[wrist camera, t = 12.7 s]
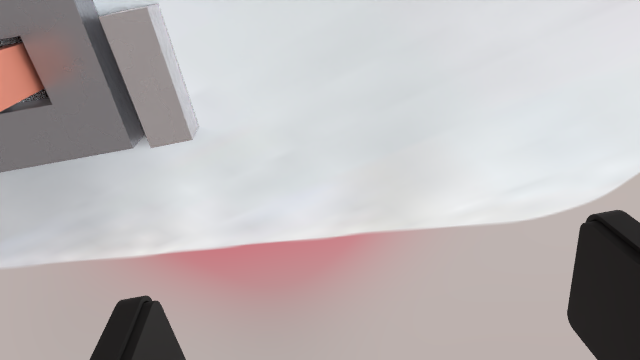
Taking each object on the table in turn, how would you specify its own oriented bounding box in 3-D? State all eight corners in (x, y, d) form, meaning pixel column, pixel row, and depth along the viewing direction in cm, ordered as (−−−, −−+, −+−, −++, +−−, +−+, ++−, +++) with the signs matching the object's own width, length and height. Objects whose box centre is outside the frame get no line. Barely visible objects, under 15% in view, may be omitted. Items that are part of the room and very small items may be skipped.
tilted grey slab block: (115, 11, 32) (98, 17, 29) (159, 3, 32) (146, 7, 29) (161, 132, 37) (150, 148, 34) (199, 125, 37) (192, 139, 34)
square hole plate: (-120, -12, 30) (-159, -10, 27) (74, -48, 30) (54, -49, 27) (-16, 163, 36) (-39, 179, 34) (144, 134, 36) (133, 148, 34)
